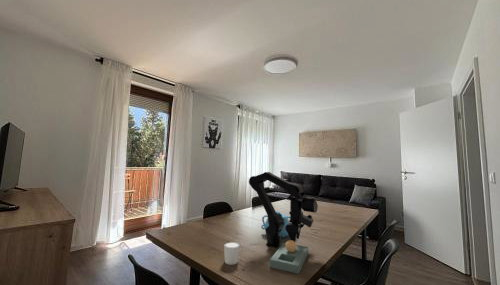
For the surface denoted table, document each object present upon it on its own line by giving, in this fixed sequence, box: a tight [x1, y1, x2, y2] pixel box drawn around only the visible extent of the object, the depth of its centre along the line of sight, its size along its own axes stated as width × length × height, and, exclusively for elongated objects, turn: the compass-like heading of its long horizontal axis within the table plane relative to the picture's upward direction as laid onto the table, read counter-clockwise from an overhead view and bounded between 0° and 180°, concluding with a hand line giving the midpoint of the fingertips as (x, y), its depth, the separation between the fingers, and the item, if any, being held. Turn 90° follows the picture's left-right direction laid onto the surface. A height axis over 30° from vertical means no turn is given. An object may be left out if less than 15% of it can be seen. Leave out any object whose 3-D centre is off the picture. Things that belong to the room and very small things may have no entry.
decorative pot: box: [260, 211, 290, 238], centre depth 131 cm, size 16×16×14 cm
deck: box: [269, 242, 309, 275], centre depth 96 cm, size 12×22×3 cm, turn 156°
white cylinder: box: [223, 241, 241, 266], centre depth 93 cm, size 7×7×7 cm
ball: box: [285, 239, 297, 252], centre depth 97 cm, size 5×5×5 cm
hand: (295, 241), depth 106 cm, fingers open, 9 cm apart
